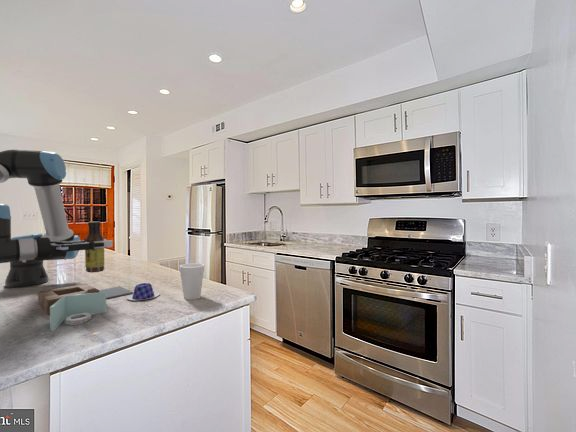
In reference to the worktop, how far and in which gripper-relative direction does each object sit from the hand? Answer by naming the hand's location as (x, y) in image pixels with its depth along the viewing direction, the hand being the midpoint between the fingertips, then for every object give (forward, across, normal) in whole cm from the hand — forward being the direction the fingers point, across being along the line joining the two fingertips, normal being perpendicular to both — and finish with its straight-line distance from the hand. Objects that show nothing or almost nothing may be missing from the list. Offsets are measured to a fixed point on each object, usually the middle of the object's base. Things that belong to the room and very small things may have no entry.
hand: (109, 242), depth 117 cm
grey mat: (+1, -2, -22) cm, 22 cm away
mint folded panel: (-16, +22, -22) cm, 35 cm away
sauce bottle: (-5, 0, -11) cm, 12 cm away
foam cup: (+21, +29, -22) cm, 41 cm away
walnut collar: (-14, +1, -22) cm, 26 cm away
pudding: (+8, +13, -22) cm, 27 cm away
